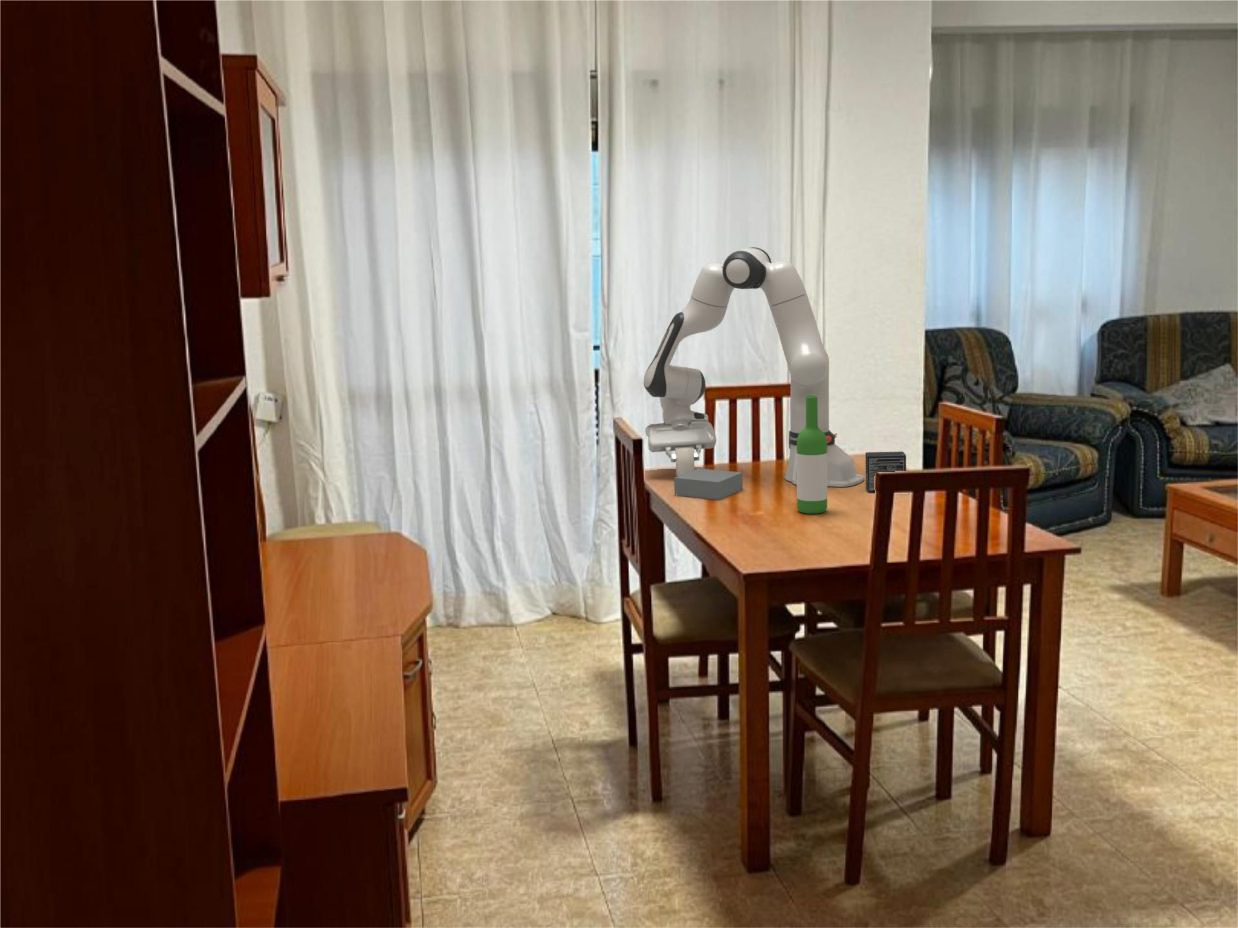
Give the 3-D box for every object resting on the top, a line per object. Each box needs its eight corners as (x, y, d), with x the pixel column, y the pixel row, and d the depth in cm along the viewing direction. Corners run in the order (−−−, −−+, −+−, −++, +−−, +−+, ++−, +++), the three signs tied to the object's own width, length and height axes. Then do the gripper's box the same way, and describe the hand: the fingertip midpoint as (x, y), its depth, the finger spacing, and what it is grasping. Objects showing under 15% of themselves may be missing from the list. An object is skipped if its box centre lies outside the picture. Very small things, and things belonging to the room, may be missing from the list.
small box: (903, 487, 328) (903, 450, 326) (906, 492, 322) (907, 455, 320) (864, 488, 329) (865, 451, 327) (867, 493, 323) (867, 455, 321)
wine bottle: (804, 516, 300) (803, 399, 294) (792, 509, 307) (791, 395, 301) (832, 513, 302) (832, 397, 296) (819, 506, 309) (819, 393, 303)
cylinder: (698, 473, 348) (697, 446, 347) (688, 477, 344) (687, 450, 342) (682, 472, 351) (681, 445, 350) (672, 475, 347) (671, 449, 345)
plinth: (742, 489, 332) (742, 472, 331) (718, 500, 321) (718, 482, 320) (699, 485, 340) (699, 468, 339) (674, 495, 328) (674, 477, 327)
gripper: (645, 418, 350) (651, 456, 343) (712, 414, 352) (720, 451, 345) (643, 430, 355) (649, 468, 348) (710, 426, 357) (717, 463, 350)
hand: (685, 460), depth 346 cm, fingers closed on cylinder, 5 cm apart
